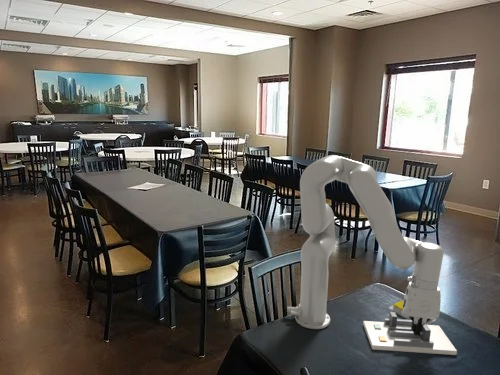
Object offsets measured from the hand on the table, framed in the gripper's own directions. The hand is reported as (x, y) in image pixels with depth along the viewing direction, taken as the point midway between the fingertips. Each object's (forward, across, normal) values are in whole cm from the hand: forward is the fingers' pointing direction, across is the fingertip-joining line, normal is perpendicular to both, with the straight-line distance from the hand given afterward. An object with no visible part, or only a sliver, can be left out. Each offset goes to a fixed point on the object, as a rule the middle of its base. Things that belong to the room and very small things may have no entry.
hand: (416, 333), depth 120 cm
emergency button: (+5, +5, +20) cm, 21 cm away
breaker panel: (+5, -1, +3) cm, 6 cm away
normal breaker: (+3, -5, +7) cm, 9 cm away
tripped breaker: (+3, +3, 0) cm, 4 cm away
